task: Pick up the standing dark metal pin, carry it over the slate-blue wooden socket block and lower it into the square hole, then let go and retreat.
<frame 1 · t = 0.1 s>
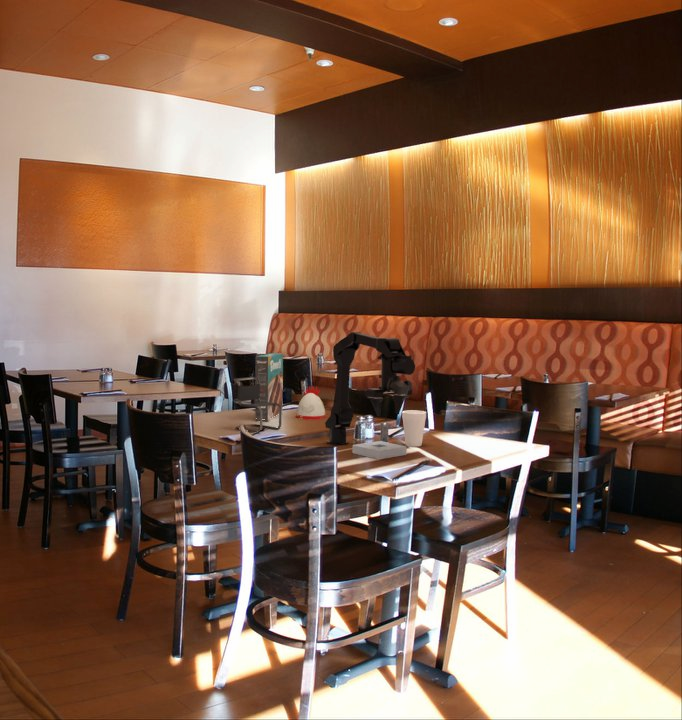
hand: (388, 415, 278), 15 cm above the table, tool pointing down, fingers open, 9 cm apart
kitchen timer: (310, 417, 366), on the table
pin: (384, 447, 293), on the table
socket block: (379, 453, 281), on the table
chair: (257, 430, 329), on the table
foam cup: (413, 445, 299), on the table
cake mix box: (269, 418, 362), on the table
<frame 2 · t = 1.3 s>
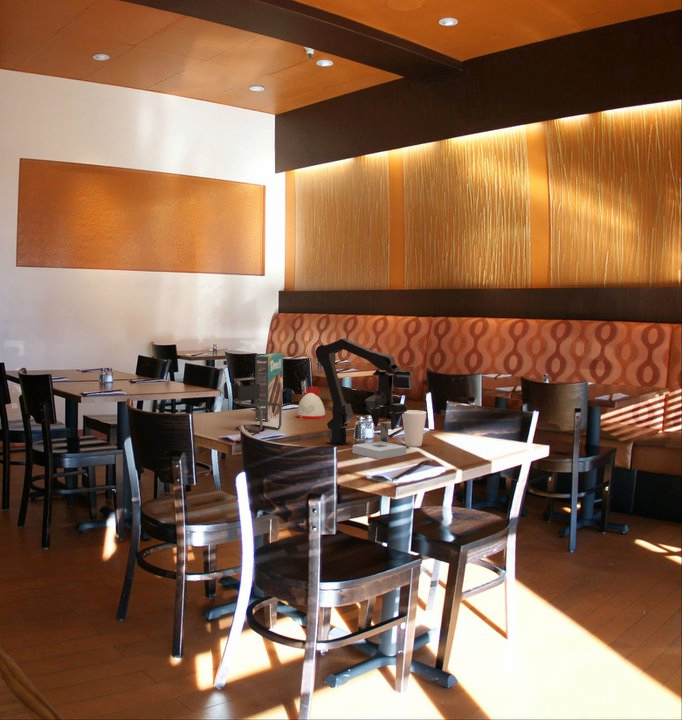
hand: (384, 428, 293), 7 cm above the table, tool pointing down, fingers open, 9 cm apart
nothing on the table moved.
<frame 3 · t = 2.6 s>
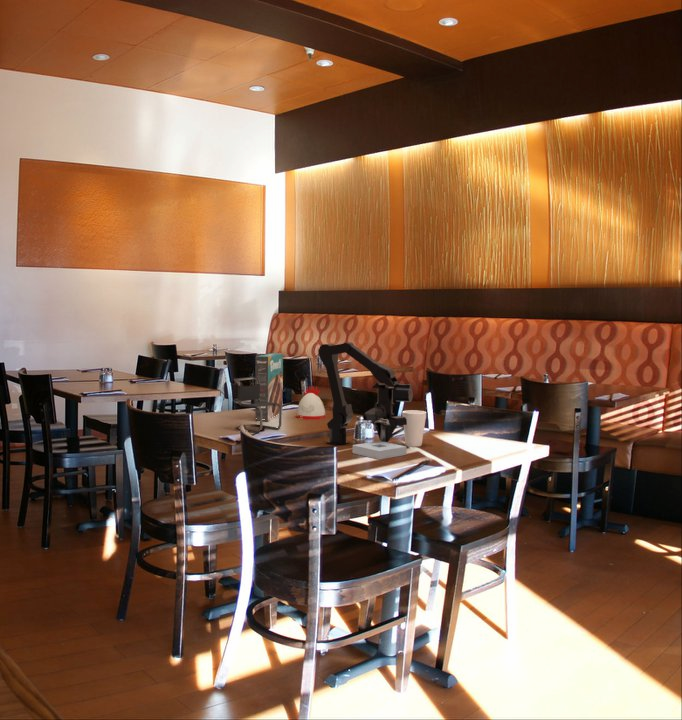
hand: (384, 441, 293), 3 cm above the table, tool pointing down, fingers closed on pin, 3 cm apart
pin: (384, 447, 293), on the table, touching gripper
everything else where it was.
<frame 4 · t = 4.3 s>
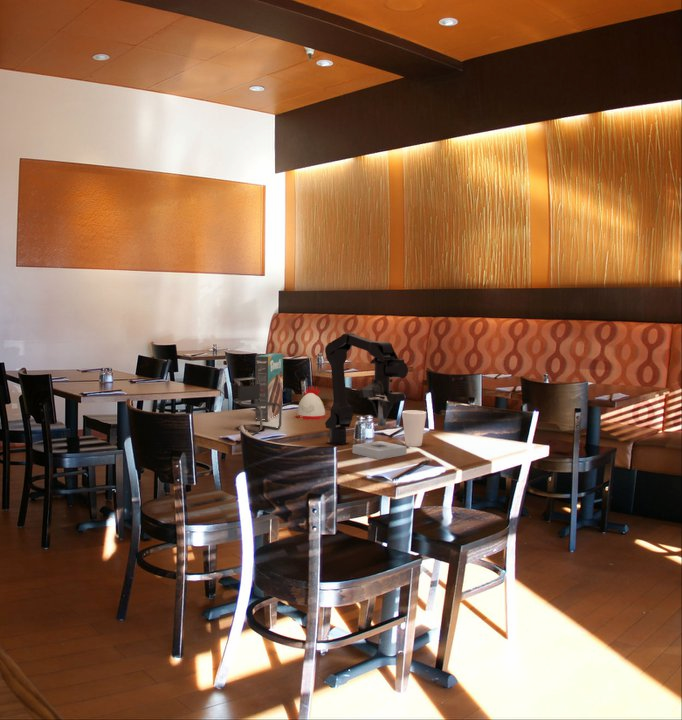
hand: (381, 418, 282), 13 cm above the table, tool pointing down, fingers closed on pin, 3 cm apart
pin: (381, 425, 282), point 10 cm above the table, touching gripper
everything else where it was.
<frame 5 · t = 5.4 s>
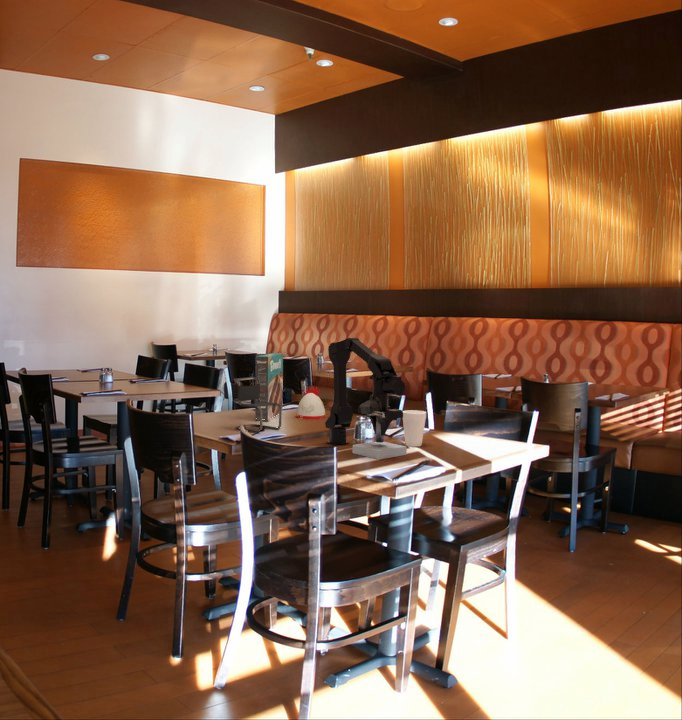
hand: (379, 434, 280), 7 cm above the table, tool pointing down, fingers closed on pin, 3 cm apart
pin: (379, 441, 280), point 5 cm above the table, touching gripper
everything else where it was.
when the fingers open (4 cm above the table, at t = 6.2 s): pin drops 2 cm, resting in socket block.
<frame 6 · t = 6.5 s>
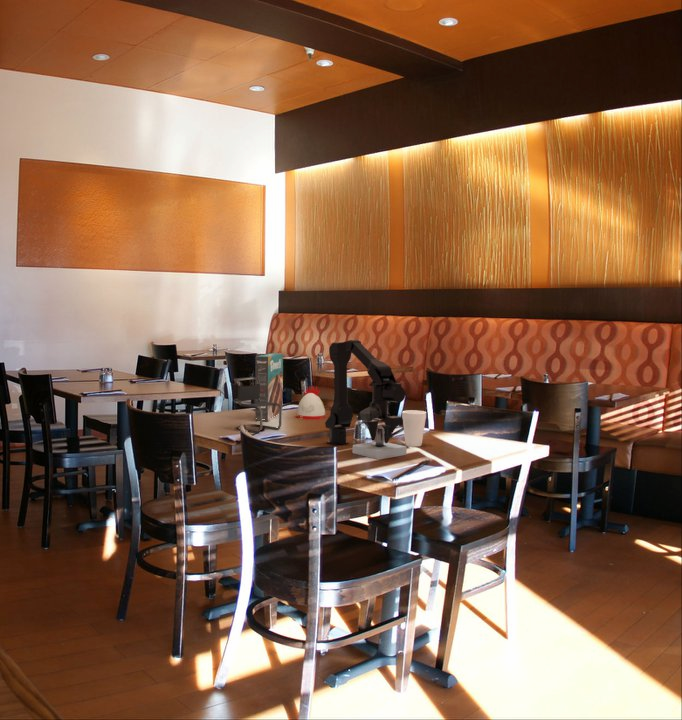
hand: (379, 441, 280), 4 cm above the table, tool pointing down, fingers open, 7 cm apart
pin: (379, 453, 281), resting in socket block
everything else where it was.
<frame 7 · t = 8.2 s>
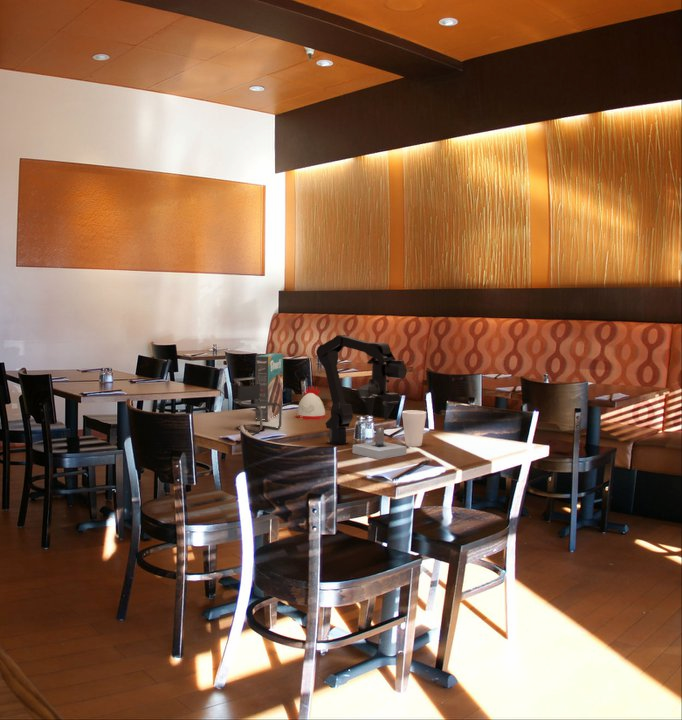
hand: (377, 417, 288), 12 cm above the table, tool pointing down, fingers open, 9 cm apart
nothing on the table moved.
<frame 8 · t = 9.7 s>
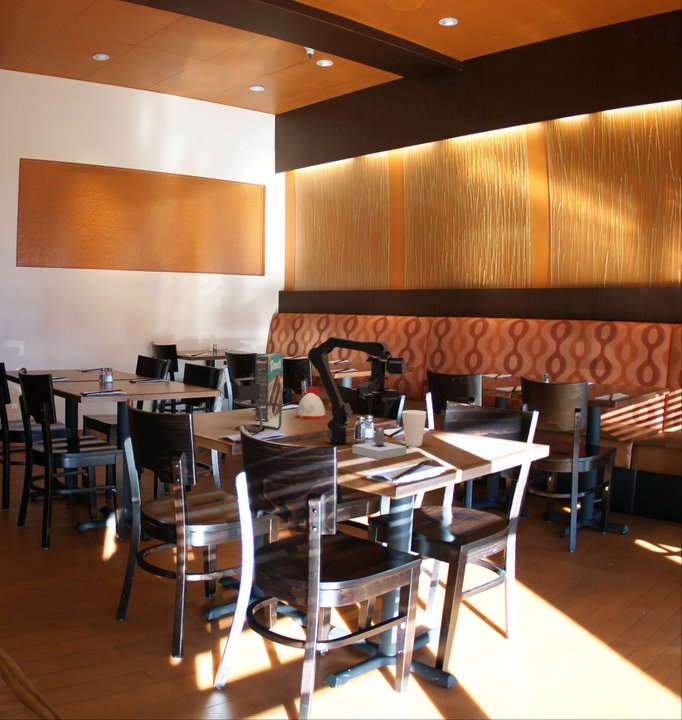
hand: (377, 414, 294), 13 cm above the table, tool pointing down, fingers open, 9 cm apart
nothing on the table moved.
at the end: pin 0.1 cm off-centre on the socket block, point 0.0 cm above the socket block's base; pin tilted 0°; the gripper is holding nothing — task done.
